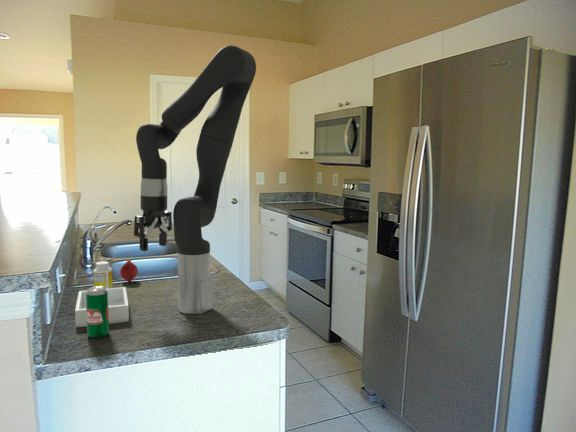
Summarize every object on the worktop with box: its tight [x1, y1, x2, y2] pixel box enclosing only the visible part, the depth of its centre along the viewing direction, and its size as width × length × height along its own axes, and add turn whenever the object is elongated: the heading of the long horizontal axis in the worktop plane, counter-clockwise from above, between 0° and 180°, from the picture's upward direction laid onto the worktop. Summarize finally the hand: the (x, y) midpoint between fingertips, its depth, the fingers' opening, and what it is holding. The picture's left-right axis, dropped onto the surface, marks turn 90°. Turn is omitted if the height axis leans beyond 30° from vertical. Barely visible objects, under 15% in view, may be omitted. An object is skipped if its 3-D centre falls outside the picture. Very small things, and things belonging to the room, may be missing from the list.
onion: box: [119, 259, 139, 282], centre depth 158 cm, size 6×6×8 cm
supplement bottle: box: [93, 260, 114, 289], centre depth 144 cm, size 6×6×10 cm
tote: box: [74, 286, 130, 328], centre depth 127 cm, size 13×18×4 cm
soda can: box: [86, 286, 110, 339], centre depth 111 cm, size 5×5×12 cm
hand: (153, 248), depth 133 cm, fingers open, 8 cm apart
